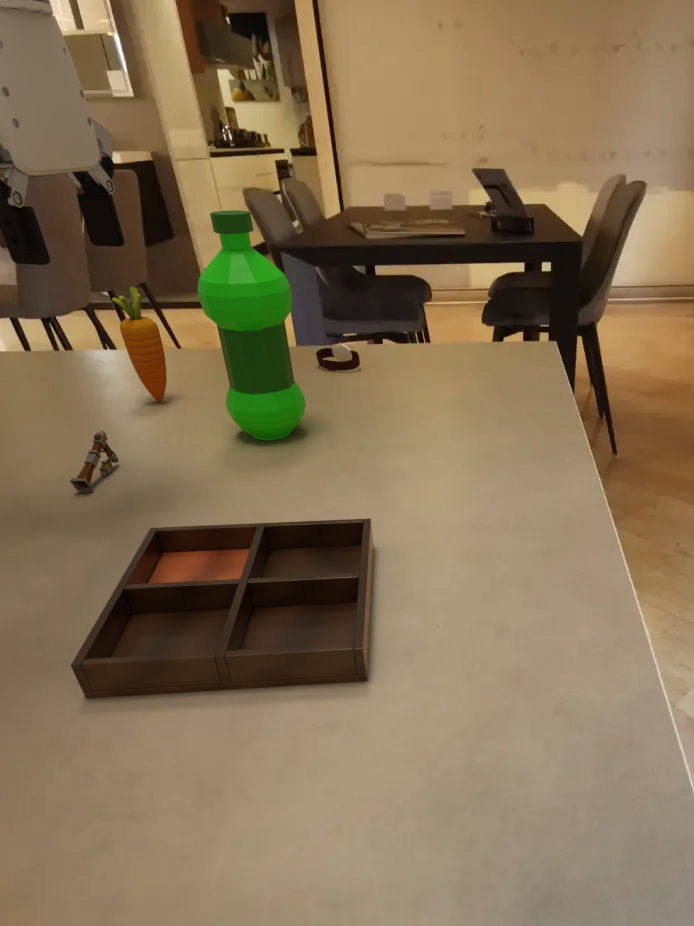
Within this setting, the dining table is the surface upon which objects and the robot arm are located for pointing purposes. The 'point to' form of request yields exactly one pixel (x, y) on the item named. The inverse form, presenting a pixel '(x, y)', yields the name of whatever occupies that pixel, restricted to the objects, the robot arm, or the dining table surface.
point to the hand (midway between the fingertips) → (72, 254)
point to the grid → (235, 610)
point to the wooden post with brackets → (95, 463)
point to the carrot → (143, 346)
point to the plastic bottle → (251, 330)
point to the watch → (342, 353)
